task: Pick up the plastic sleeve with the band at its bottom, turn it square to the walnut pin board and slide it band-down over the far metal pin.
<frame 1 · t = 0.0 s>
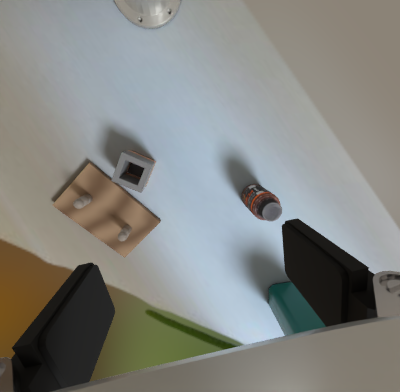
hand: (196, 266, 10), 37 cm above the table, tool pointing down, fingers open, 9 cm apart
supplement bottle: (252, 195, 49), on the table
pin board: (110, 212, 47), on the table
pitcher: (281, 295, 59), on the table
sleeve: (138, 168, 45), on the table
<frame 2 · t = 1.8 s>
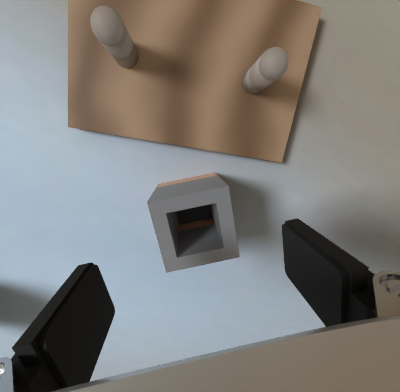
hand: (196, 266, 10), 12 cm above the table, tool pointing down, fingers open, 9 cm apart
pin board: (191, 73, 18), on the table
sleeve: (192, 205, 21), on the table
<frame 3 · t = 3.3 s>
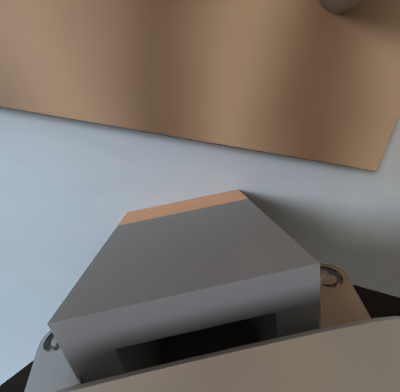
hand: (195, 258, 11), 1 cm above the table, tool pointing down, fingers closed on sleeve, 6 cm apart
sleeve: (194, 250, 11), on the table, touching gripper
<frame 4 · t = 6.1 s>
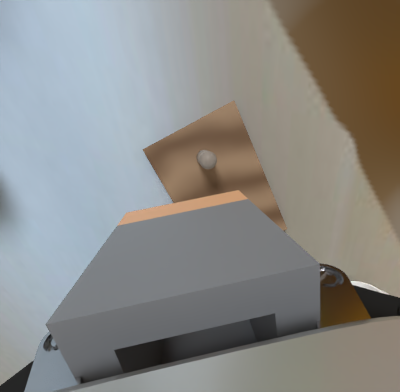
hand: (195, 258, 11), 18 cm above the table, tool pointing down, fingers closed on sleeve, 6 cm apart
pin board: (219, 190, 29), on the table
sleeve: (193, 250, 11), point 18 cm above the table, touching gripper
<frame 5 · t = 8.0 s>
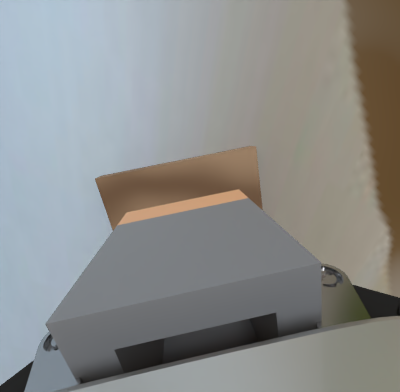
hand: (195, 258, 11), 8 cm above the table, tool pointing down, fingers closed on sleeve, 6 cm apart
pin board: (198, 260, 20), on the table
sleeve: (194, 249, 11), point 7 cm above the table, touching gripper
when the fingers open (4 cm above the table, at t = 9.3 s): sleeve drops 2 cm, resting on pin board.
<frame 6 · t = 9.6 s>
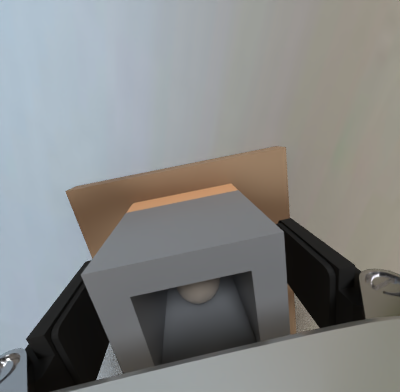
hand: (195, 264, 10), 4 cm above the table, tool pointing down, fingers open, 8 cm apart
pin board: (205, 291, 16), on the table
sleeve: (192, 237, 13), point 1 cm above the table, touching pin board
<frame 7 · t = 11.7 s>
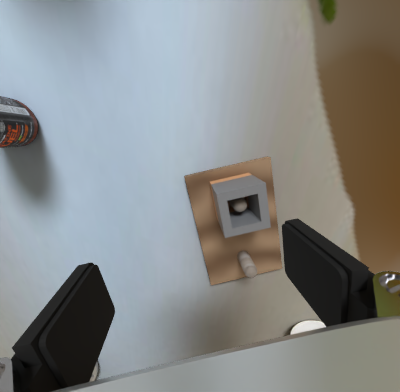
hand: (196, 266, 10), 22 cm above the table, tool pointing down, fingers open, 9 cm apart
supplement bottle: (17, 123, 27), on the table
pin board: (236, 224, 34), on the table
mug: (309, 334, 43), on the table
sleeve: (232, 195, 31), point 1 cm above the table, touching pin board
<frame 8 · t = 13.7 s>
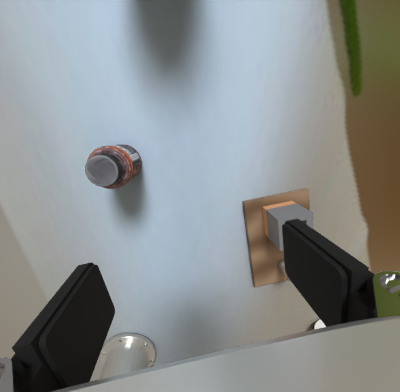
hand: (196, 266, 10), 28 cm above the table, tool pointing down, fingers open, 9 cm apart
supplement bottle: (125, 161, 36), on the table
pin board: (277, 238, 43), on the table
sleeve: (278, 217, 40), point 1 cm above the table, touching pin board
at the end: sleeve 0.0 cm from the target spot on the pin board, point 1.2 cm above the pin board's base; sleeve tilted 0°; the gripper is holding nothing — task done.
